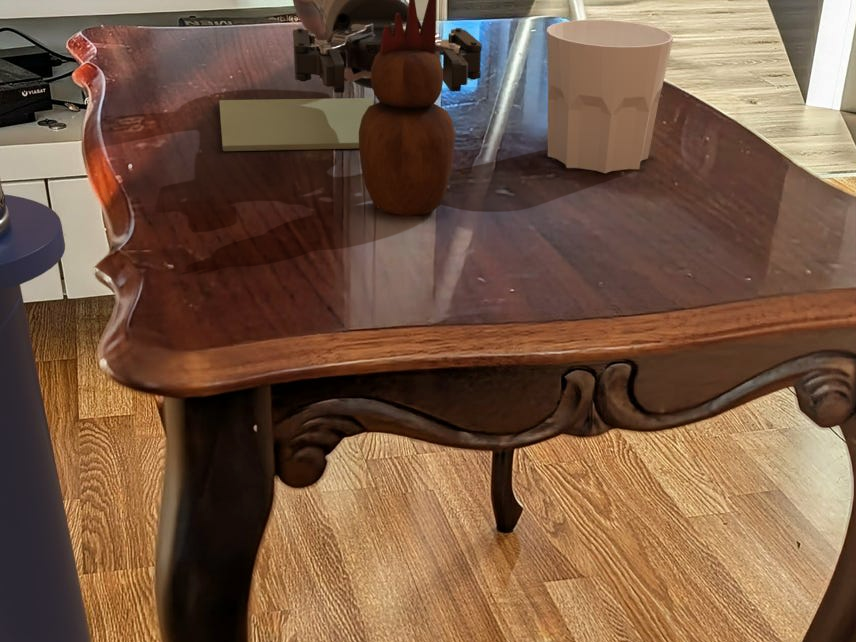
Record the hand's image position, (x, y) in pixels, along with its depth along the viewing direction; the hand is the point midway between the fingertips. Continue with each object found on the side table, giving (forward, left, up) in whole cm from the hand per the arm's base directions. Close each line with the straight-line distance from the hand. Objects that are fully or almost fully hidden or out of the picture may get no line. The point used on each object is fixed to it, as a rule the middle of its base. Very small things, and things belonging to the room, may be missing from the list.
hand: (398, 77), depth 83 cm
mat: (-6, +18, -9) cm, 21 cm away
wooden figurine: (0, -4, -9) cm, 9 cm away
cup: (+18, +7, -9) cm, 21 cm away
